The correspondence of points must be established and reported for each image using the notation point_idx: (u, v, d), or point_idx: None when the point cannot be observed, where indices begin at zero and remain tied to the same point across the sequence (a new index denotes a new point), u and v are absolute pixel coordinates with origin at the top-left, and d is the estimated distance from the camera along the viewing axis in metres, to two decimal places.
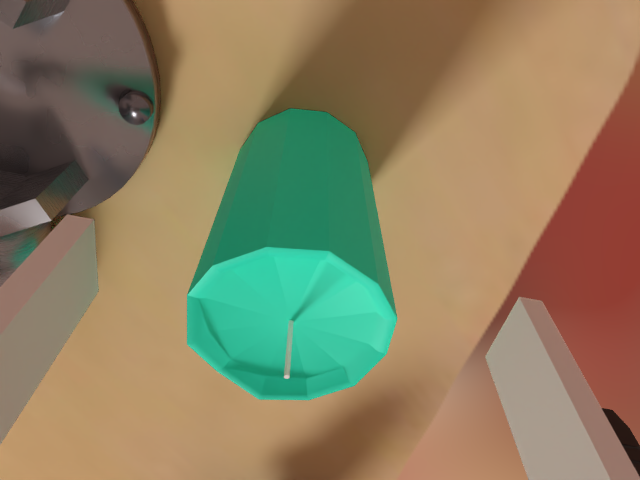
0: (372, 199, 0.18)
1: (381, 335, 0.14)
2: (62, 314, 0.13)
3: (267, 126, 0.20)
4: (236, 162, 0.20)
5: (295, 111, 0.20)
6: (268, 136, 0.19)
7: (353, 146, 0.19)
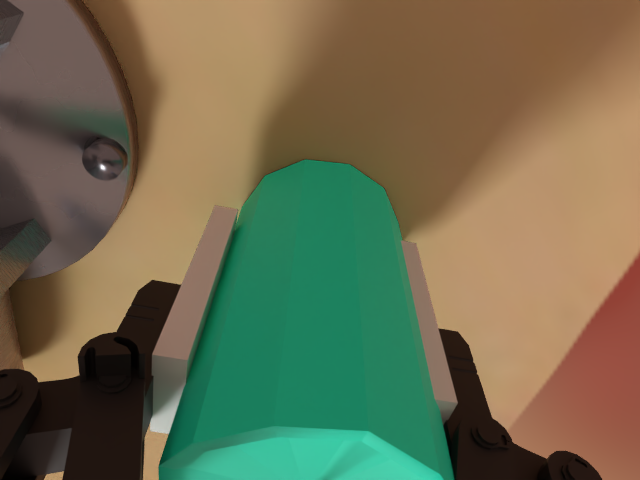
0: (410, 286, 0.14)
1: None
2: None
3: (276, 184, 0.16)
4: (237, 227, 0.16)
5: (311, 164, 0.16)
6: (277, 201, 0.15)
7: (384, 212, 0.15)
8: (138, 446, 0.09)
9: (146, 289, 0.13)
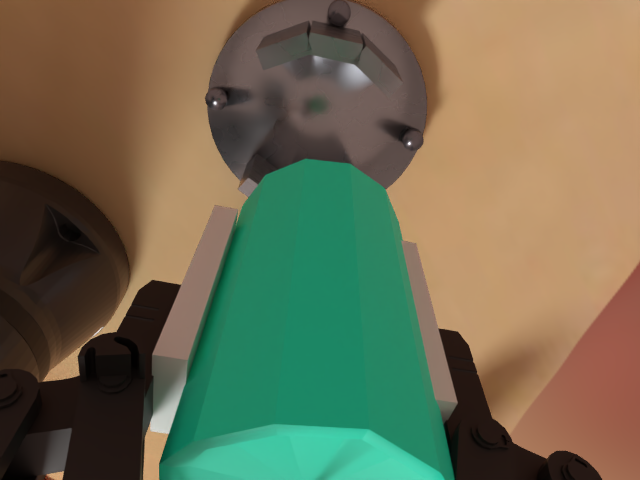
0: (410, 285, 0.14)
1: None
2: None
3: (277, 183, 0.16)
4: (237, 226, 0.16)
5: (312, 163, 0.16)
6: (278, 200, 0.15)
7: (384, 211, 0.15)
8: (138, 446, 0.09)
9: (146, 289, 0.13)
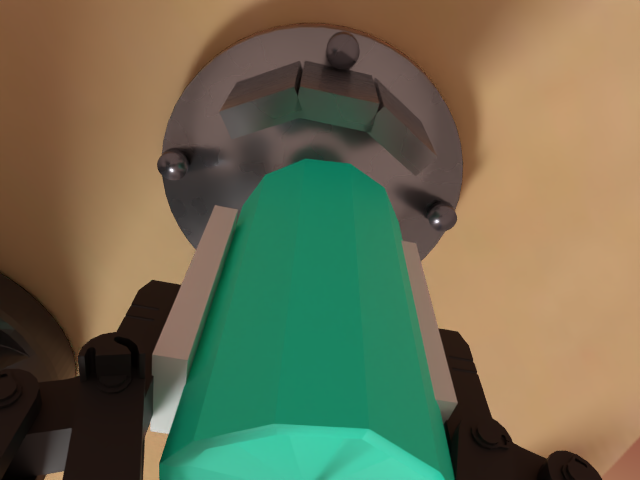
0: (410, 285, 0.14)
1: None
2: None
3: (276, 183, 0.16)
4: (237, 226, 0.16)
5: (312, 163, 0.16)
6: (278, 200, 0.15)
7: (384, 211, 0.15)
8: (138, 446, 0.09)
9: (146, 289, 0.13)
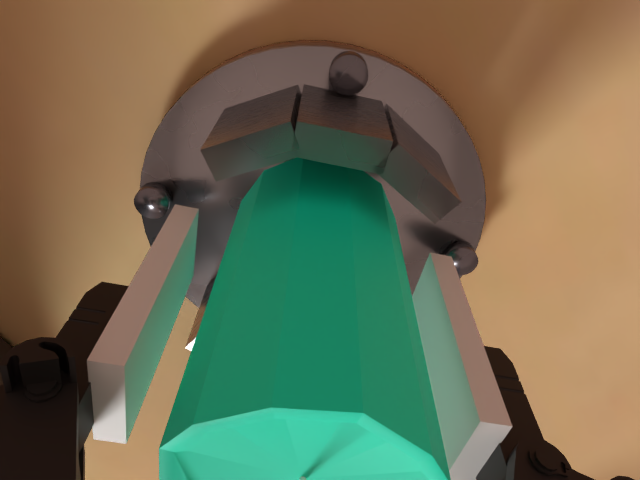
0: (405, 279, 0.14)
1: None
2: (177, 292, 0.14)
3: (275, 179, 0.16)
4: (236, 221, 0.16)
5: None
6: (276, 195, 0.15)
7: (381, 206, 0.16)
8: (73, 452, 0.08)
9: (94, 292, 0.12)
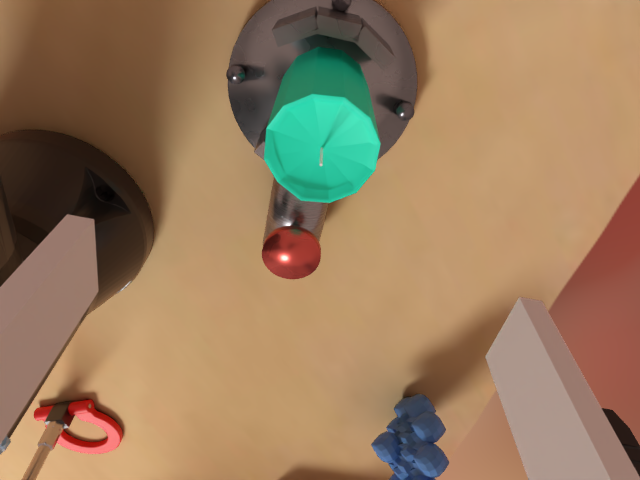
0: (369, 99, 0.29)
1: (371, 156, 0.25)
2: (62, 314, 0.13)
3: (303, 57, 0.31)
4: (282, 80, 0.31)
5: (321, 48, 0.31)
6: (305, 60, 0.30)
7: (358, 69, 0.30)
8: None
9: None
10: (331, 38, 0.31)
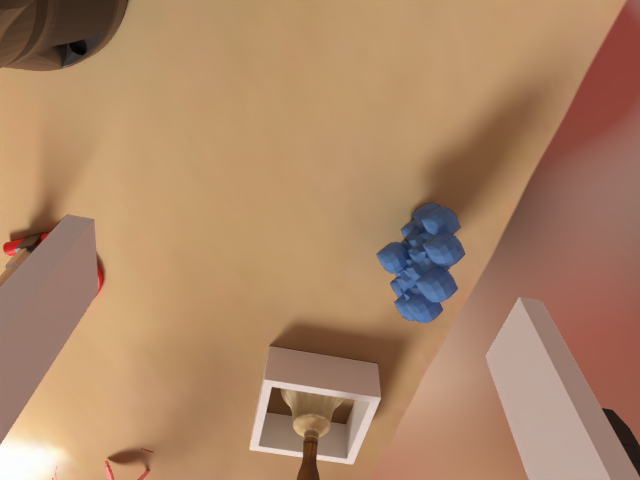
0: None
1: None
2: (62, 314, 0.13)
3: None
4: None
5: None
6: None
7: None
8: None
9: None
10: None
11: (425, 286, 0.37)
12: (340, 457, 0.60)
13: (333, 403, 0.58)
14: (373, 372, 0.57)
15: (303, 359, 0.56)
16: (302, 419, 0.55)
